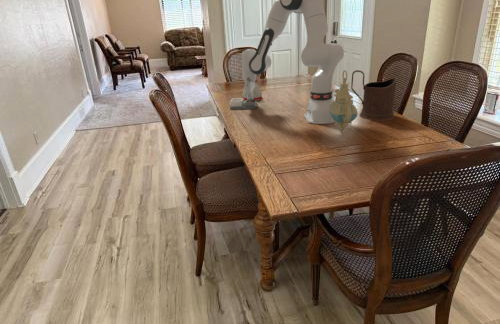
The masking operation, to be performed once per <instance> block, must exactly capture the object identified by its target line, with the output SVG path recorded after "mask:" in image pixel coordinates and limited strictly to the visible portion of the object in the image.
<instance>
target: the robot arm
mask: <svg viewBox="0 0 500 324" xmlns="http://www.w3.org/2000/svg"><path fill="white" fill-rule="evenodd" d="M292 13H294V14H302V15H303V19H304V24H305V30H306V36H307V37H306V44H305V46H304V48H303V50H302V51H301V55H300V58H301V59H300V61H301V62H302V64H303V65H304V66H305V67H311V68H315V67H318V68H317V70H316V72H315V73H314V74H313V75H312V76H311V89H310V93H309V97H310V99H308V100H307V105H306V106H307V109H306V113H303V116H304V118H305V119H306V122H307V123H309V124H313V125H314V124H315V125H316V124H317V125H318V124H320V125H325V124H327V125H328V124H335V122H334V121H333V118H332V116H331V114H330V112H329V108H330V106H331V104H332V103H333V102H335V99H333V90H332V88H333V77H334V75H335V74H334V73H335V70H336V68H337V66H338V65H339V63H340V62H341V61H342V60H343V58H344V54H345V51H344V47H343V46H342V45H341V44H340V43H335V42H328V43H324V37H325V36H326V34H328V32H329V26H328V25H329V24H328V22H327V20H328V19H327V16H326V10H325V8H324V5H323V3H322V0H274V3H273V4H272V6H271V8H270V11H269V13H268V15H267V18H266V22H265V25H264V29H263V33H262V36H261V38H260V41H259V44H258V45H257V47H256V48H257V49H256V50H255V48H248V49H245V50H243V51H242V53H241V67H242V69H241V74H242V75H241V76H242V80H243V81H244V87H245V94H248V99H251V92H252V91H253V89H254V88H255V80H257V79H258V78H257V75H258V76H259V75H261V74H263V73H264V72H265V71H267V70H268V69H270V68H271V65H272V59H271V57H270V56H269V55H268V53H269V50H270V48H271V45H272V44H273V42H274V41H275V40H276V39H277V38H278V37H280V35H282V34H283V32H284V30H285V27H286V25H287V22H288V19H289V16H290V15H291V14H292Z"/></svg>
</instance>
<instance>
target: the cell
mask: <svg viewBox="0 0 500 324" xmlns="http://www.w3.org/2000/svg"><path fill="white" fill-rule="evenodd" d="M247 102H254V98H253V91H252V92H251V99H248V94H247Z"/></svg>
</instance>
